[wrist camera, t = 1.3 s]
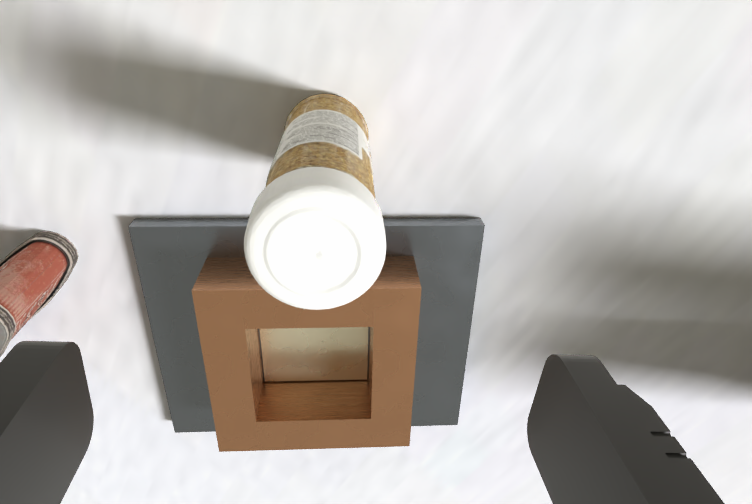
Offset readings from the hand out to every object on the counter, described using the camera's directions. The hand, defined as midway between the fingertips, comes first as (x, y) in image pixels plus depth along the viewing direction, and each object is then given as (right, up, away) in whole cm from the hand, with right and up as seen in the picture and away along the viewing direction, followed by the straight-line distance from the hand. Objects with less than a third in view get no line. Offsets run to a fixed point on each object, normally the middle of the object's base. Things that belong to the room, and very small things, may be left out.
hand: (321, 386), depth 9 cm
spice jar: (-2, +9, +19) cm, 21 cm away
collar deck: (-3, -3, +25) cm, 25 cm away
